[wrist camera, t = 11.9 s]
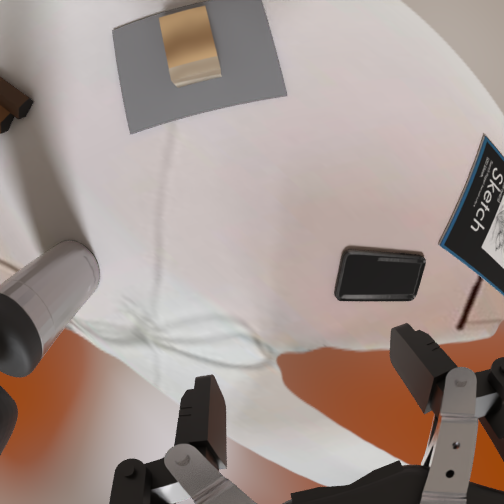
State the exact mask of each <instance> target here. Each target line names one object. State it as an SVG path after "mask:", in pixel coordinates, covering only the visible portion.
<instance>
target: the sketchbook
mask: <svg viewBox="0 0 504 504" xmlns="http://www.w3.org/2000/svg"><path fill="white" fill-rule="evenodd" d="M438 245H439V246H441V247H442V248H443V249H445V250H446V251H448V252H449V253H450V254H452V255H453V256H454V257H456V258H457V259H458V260H460V261H461V262H462V263H464V264H465V265H466V266H467V267H469V268H470V269H471V270H473V271H474V272H475V273H476V274H478V275H479V276H480V277H481V278H483V279H484V280H485V281H486V282H488V283H489V284H490V285H491V286H492V287H494V288H495V289H496V290H497V291H498V292H500V293H501V294H502V295H503V296H504V157H503V156H502V155H501V154H500V152H499V151H498V150H497V149H496V148H495V146H494V145H493V144H492V143H491V142H490V140H489V139H488V138H487V137H486V136H483V139H482V142H481V145H480V148H479V151H478V154H477V156H476V159H475V162H474V165H473V167H472V170H471V173H470V175H469V178H468V180H467V183H466V185H465V188H464V190H463V192H462V195H461V197H460V199H459V202H458V204H457V206H456V208H455V211H454V213H453V215H452V217H451V219H450V221H449V223H448V225H447V228H446V230H445V232H444V234H443V236H442V238H441V240H440V242H439V243H438Z"/></svg>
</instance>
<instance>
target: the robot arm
mask: <svg viewBox="0 0 504 504" xmlns="http://www.w3.org/2000/svg"><path fill="white" fill-rule="evenodd" d="M99 279H100V273H99V267H98V264H97V262H96V259H95V257H94V256H93V255H92V253H91V252H90V251H89V250H88V249H87V248H86V247H85V246H84V245H82V244H80V243H78V242H76V241H63V242H61V243H59V244H58V245H56V246H55V247H53V248H51V249H50V250H48V251H47V252H45V253H44V254H42V255H41V256H39V257H38V258H36V259H35V260H34V261H32V262H31V263H29V264H28V265H26V266H25V267H24V268H22V269H21V270H19V271H18V272H17V273H15V274H14V275H13V276H11V277H10V278H8V279H7V280H6V281H4V282H3V283H2V284H1V285H0V371H1V372H3V373H5V374H7V375H10V376H13V377H25V376H27V375H28V374H30V373H31V372H32V371H33V370H34V368H35V367H36V366H37V365H38V363H39V362H40V360H41V359H42V357H43V356H44V354H45V353H46V352H47V351H48V349H49V348H50V346H51V345H52V344H53V342H54V341H55V340H56V338H57V337H58V336H59V334H60V333H61V332H62V330H63V329H64V328H65V327H66V326H67V324H68V323H69V322H70V320H71V319H72V318H73V317H74V316H75V314H76V313H77V312H78V311H79V309H80V308H81V307H82V306H83V305H84V303H85V302H86V301H87V300H88V299H89V297H90V296H91V295H92V294H93V293H94V292H95V290H96V289H97V287H98V284H99ZM390 359H391V363H392V365H393V366H394V368H395V370H396V371H397V373H398V374H399V376H400V377H401V379H402V380H403V382H404V383H405V385H406V386H407V388H408V389H409V391H410V392H411V394H412V396H413V397H414V398H415V400H416V402H417V404H418V405H419V407H420V408H421V410H422V411H423V413H424V414H426V413H428V412H430V411H433V412H434V414H435V415H434V418H433V423H432V428H431V432H430V437H429V440H428V445H427V448H426V452H425V455H424V458H423V460H422V463H421V465H404V466H402V465H401V463H400V461H396V462H394V463H391V464H389V465H386V466H384V467H381V468H379V469H376V470H374V471H372V472H370V473H369V474H367V475H366V476H364V477H362V478H360V479H359V480H357V481H355V482H354V483H352V484H350V485H345V486H332V487H317V488H314V489H309V490H305V491H300V492H295V493H291V498H292V499H291V500H289V501H286V502H285V503H283V504H504V491H500V490H496V489H493V488H489V487H486V486H482V485H479V484H476V483H473V482H470V481H469V480H470V474H471V469H472V464H473V459H474V451H475V445H476V437H477V428H478V419H479V421H480V422H481V424H482V426H483V427H484V429H485V430H486V432H487V434H488V435H489V437H490V439H491V440H492V442H493V443H494V445H495V447H496V449H497V450H498V452H499V454H500V456H501V458H502V459H503V461H504V357H502V358H498V359H496V360H495V361H494V362H493V364H492V366H491V369H489V370H485V371H481V372H476V373H474V372H473V371H472V370H470V369H468V368H465V367H457V365H456V364H455V363H454V362H453V361H452V360H451V359H450V357H449V356H447V354H446V353H445V352H444V351H443V350H442V349H441V348H440V346H439V345H438V344H437V343H435V341H434V340H433V339H432V338H431V336H430V335H429V334H427V333H425V332H423V331H421V330H418V331H415V330H414V329H413V328H412V327H411V326H410V325H409V324H408V323H405V324H403V325H400V326H397V327H394V328H392V329H391V339H390ZM17 416H18V409H17V405H16V403H15V401H14V400H13V399H12V398H11V396H10V395H9V394H8V393H7V392H6V391H5V390H4V389H3V388H2V387H1V386H0V455H1V453H2V451H3V449H4V448H5V446H6V444H7V442H8V440H9V438H10V436H11V434H12V432H13V430H14V427H15V424H16V421H17ZM226 459H227V456H226V405H225V400H224V397H223V395H222V393H221V390H220V388H219V386H218V384H217V381H216V379H215V377H214V375H206V376H200V377H196V379H195V386H194V389H190V390H187V391H186V392H185V394H184V395H183V397H182V398H181V403H180V410H179V418H178V424H177V430H176V438H175V444H174V447H172V448H171V449H169V450H168V452H167V453H166V455H165V457H164V458H162V459H160V460H156V461H153V462H150V463H146V464H143V463H142V462H141V461H140V460H137V459H127V460H124V461H122V462H121V463H120V464H119V465H118V466H117V468H116V470H115V474H114V480H113V485H112V491H111V496H110V503H109V504H176V503H177V502H181V501H184V500H187V499H191V498H192V499H193V500H194V503H195V504H257V503H255V502H254V501H253V500H252V499H251V498H249V497H248V496H247V495H246V494H245V493H244V492H243V491H241V490H240V489H239V488H238V487H237V486H236V485H235V484H234V483H232V482H231V481H230V480H229V479H226V478H225V477H224V476H223V475H222V474H221V473H220V472H219V469H227V460H226Z"/></svg>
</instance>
